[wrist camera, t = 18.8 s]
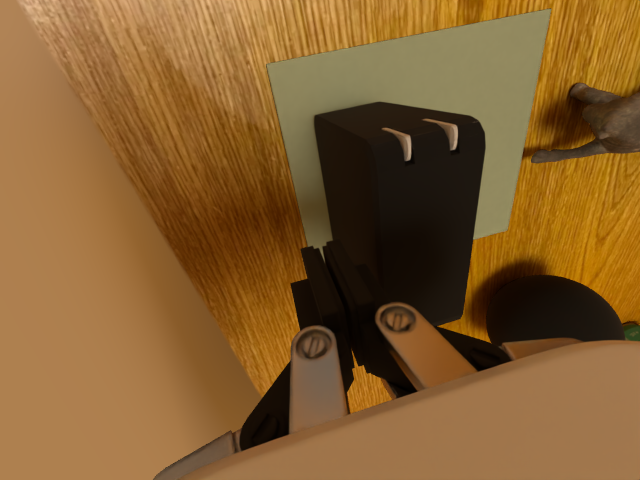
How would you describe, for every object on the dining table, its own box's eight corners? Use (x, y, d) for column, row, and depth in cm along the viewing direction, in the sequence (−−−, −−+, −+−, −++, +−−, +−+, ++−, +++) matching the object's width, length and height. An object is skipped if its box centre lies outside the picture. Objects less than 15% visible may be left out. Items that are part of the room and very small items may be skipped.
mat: (315, 280, 24) (316, 284, 24) (265, 64, 16) (266, 63, 16) (503, 227, 26) (507, 230, 26) (544, 9, 18) (552, 7, 18)
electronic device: (333, 248, 23) (386, 350, 14) (311, 113, 17) (373, 144, 9) (382, 235, 23) (462, 326, 15) (375, 100, 18) (492, 117, 9)
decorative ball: (522, 239, 27) (646, 310, 19) (561, 279, 32) (675, 351, 24) (447, 310, 30) (526, 400, 22) (493, 338, 35) (574, 422, 26)
